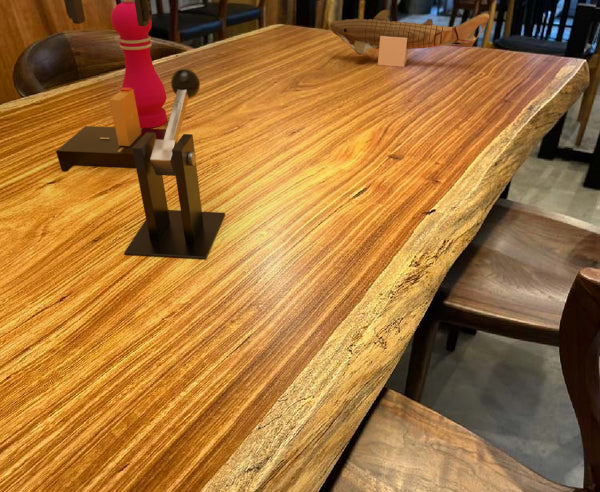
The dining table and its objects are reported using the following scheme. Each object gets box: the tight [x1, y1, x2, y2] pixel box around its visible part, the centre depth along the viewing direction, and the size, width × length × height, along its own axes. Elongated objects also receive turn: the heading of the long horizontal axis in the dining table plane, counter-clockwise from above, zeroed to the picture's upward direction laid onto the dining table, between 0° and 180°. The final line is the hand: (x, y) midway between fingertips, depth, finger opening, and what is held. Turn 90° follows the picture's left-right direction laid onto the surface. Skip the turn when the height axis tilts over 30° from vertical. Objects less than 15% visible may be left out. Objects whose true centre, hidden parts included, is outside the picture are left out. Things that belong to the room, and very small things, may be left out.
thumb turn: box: [108, 87, 141, 146], centre depth 76 cm, size 5×2×7 cm, turn 174°
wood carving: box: [329, 9, 490, 68], centre depth 122 cm, size 9×35×11 cm, turn 74°
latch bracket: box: [123, 133, 226, 261], centre depth 58 cm, size 10×9×12 cm
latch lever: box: [150, 68, 201, 177], centre depth 58 cm, size 14×3×3 cm, turn 175°
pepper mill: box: [110, 0, 168, 129], centre depth 87 cm, size 7×7×20 cm
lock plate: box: [55, 125, 167, 172], centre depth 79 cm, size 14×10×3 cm
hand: (111, 24), depth 68 cm, fingers open, 8 cm apart
